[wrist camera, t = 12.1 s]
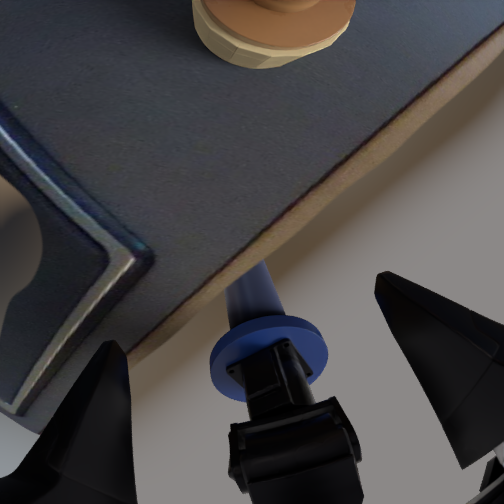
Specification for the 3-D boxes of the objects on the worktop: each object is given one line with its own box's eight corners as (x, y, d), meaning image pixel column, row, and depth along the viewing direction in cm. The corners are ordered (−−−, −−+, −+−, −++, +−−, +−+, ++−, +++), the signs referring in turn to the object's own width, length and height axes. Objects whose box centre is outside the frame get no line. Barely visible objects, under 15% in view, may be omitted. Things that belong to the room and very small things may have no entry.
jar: (336, 43, 16) (377, 30, 11) (232, 89, 17) (243, 83, 12) (279, -45, 12) (304, -80, 7) (171, -4, 13) (162, -37, 8)
